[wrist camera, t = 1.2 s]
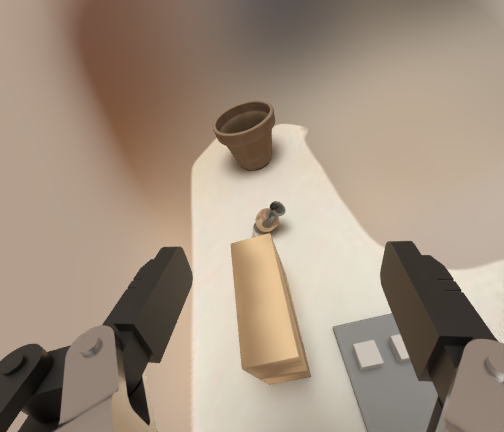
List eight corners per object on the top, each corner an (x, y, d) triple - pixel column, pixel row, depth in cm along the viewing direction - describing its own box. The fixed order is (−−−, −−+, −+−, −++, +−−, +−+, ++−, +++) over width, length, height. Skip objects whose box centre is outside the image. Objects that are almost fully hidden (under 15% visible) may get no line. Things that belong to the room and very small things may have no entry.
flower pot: (240, 144, 58) (225, 102, 50) (288, 141, 53) (279, 95, 46) (222, 178, 51) (202, 136, 44) (275, 179, 47) (262, 132, 39)
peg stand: (405, 312, 27) (410, 303, 25) (521, 525, 17) (545, 539, 15) (333, 328, 28) (332, 321, 26) (404, 540, 18) (412, 554, 16)
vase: (292, 216, 40) (286, 193, 35) (286, 246, 37) (278, 225, 33) (261, 214, 42) (251, 192, 37) (253, 242, 39) (241, 222, 35)
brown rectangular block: (285, 274, 34) (270, 232, 27) (310, 376, 26) (298, 356, 19) (254, 282, 35) (230, 243, 27) (269, 384, 27) (241, 368, 19)
